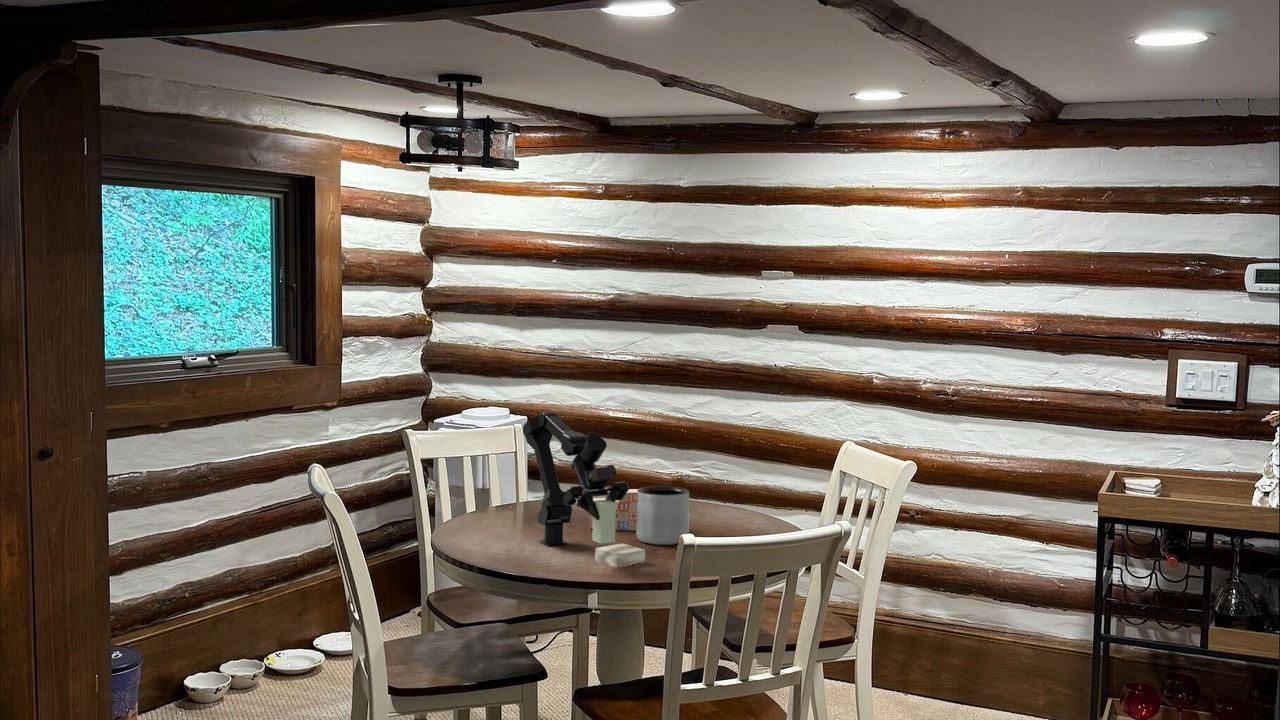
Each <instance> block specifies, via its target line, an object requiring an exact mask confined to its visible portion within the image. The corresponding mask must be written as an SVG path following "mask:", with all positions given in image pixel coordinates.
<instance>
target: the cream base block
mask: <svg viewBox="0 0 1280 720" xmlns="http://www.w3.org/2000/svg"><path fill="white" fill-rule="evenodd" d="M594 550H595V553H594V561H595V560H596V561H595V562H597V561H599V562H598V563H600V562H602V563H601V564H603V563H605V565H606V564H609V565H611V566H610V567H612V566H615V567H620V568H622V567H621V566H625V567H627V566H626V565H631V566H633V565H632V564H636V565H638V564H637V563H641V564H643V563H642V562H645V563H646V550H645V549H644V548H643V549H642V548H641V547H638V546H637V547H636V546H633V545H629V544H627V543H623V542H622V543H617V544H612V545H606V546H600V547H596V548H594ZM609 565H608V566H609ZM615 567H614V568H615Z"/></svg>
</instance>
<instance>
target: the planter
mask: <svg viewBox="0 0 1280 720" xmlns="http://www.w3.org/2000/svg"><path fill="white" fill-rule="evenodd" d="M637 489H638V497H637V530H635V531H636V534H635V535H636V539H637V540H639V541H640V542H641V543H644V544H647V545H648V544H649V545H653V546H654V545H655V546H674V545H675V544H676V545H678V544H677V543H678V540H679V537H680V535H681V534H686V533H689V534H690V532H689V531H690V525H689V523H690V515H689V513H690V491H689V490H688V489H686V488H684V487H679V486H671V485H653V486H645V487H640V488H637Z"/></svg>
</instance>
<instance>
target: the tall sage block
mask: <svg viewBox="0 0 1280 720" xmlns="http://www.w3.org/2000/svg"><path fill="white" fill-rule="evenodd" d="M594 504H595V506H596V508H597V511H598V513H599V517H600V519H599V520H597V519H595V518H594V517H593V530H592V535H591V536H592V541H593V542H596V543H598V544H600V545H601V544H610V543H615V542H616V530H615V513H616V503H615V502H612V501H610V500H599V501H594Z"/></svg>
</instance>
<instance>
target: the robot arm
mask: <svg viewBox="0 0 1280 720" xmlns="http://www.w3.org/2000/svg"><path fill="white" fill-rule="evenodd" d="M522 433H523V436H524V437H525V441H526V444H528V445H529V446H530V447H531V448H532V449H533V451H534V455H535V460H536V464H537V468H538V471H539V474H540V475H539V476H540V479H541V480H540V481H541V484H542V488H543V492H544V494H543V498H542V500H541V509H540V511H538V514H537V517H536V518H537V523H538V524H539V525H542V526H543V529H544V531H543V539H540V540H539V542H540V543H542V544H543V545H544V546H547V547H551V546H552V547H553V546H561V545H567V544H568V542H567V541H565V540H564V524H570V523H571V518H572V517H571V516H572V513H573V512H572V511H573V507H572V506H575V504H576V507H579V508H580V509H582V510H584V511H585V512H587V513H588V514H589V516H590V515H592V516H593V517H594V518H595V519H597V520H599V519H600V517H599V513H598V511H597V508H596V506H595V504H594V501H593V498H598V497H603V498H605V500H610V501H612V502H615V501H617V500H622V499H623V498H624V496H625V495H626V493H627V492H628V490H629V489H630V487H629V485H628V482H626V481H618V482H617V481H615V482H613V483H612V485H611V486H610V487H605V486H607V485H608V484H609V480H612V479H613V478H614V477H615V476H617V469H616V466H615V465H614V464H610V465H607V466H605V467H597V465H596V463H597V462H599V460H600V458H601V457H602V455H603V453H605V450H606V448H607V447H608V446H607V442H606V440H604V439H603V437H601V436H600V435H597V434H596V432H589V433H587V435H586V434H584V433H582V432H579V431H575V430H573V429H572V428H571V427H570V426H568V425H567V423H566V422H564V421H563V420H562V419H561V418H560V417H559V414H558V413H557V412H556V413H555V412H542V413H541V414H539V415H537V416H536V417H533V418H531V419H528V420H527V421H526V422H525V423H524V424H523V426H522ZM553 436H554V437H555V438H556V439H557V440H558V441H559V442H560V443H561V445H560V449H561V450H562V452H563V453H564V455H565V456H567V457H573V456H574V458H573V459H572V463H571V465H570V469H571V470H575V472H576V474H577V476H578V481H577V483H578V485H572V486H568V489H567V490H566V491H563V490H562V489H561V486H560V483H559V479H558V475H557V469H556V466H555V461H554V458H553V454H552V453H553V452H552V450H551V446H550V444H551V441H552V439H553Z"/></svg>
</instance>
